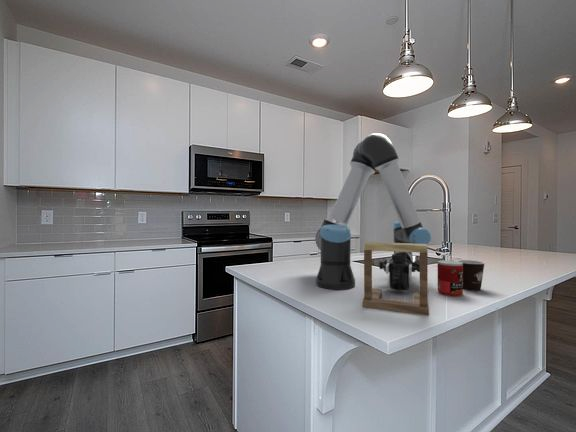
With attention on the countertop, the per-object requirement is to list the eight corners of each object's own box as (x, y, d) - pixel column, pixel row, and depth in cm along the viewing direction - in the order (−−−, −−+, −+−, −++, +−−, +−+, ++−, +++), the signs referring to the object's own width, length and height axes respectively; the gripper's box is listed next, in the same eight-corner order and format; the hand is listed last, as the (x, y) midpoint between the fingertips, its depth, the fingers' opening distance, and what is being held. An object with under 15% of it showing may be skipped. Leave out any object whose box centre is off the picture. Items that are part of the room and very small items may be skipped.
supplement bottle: (413, 289, 101) (413, 255, 101) (397, 291, 99) (397, 256, 99) (400, 285, 108) (400, 252, 108) (385, 286, 106) (384, 253, 106)
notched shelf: (370, 294, 101) (370, 239, 101) (427, 300, 94) (427, 241, 94) (362, 306, 88) (362, 244, 88) (428, 315, 80) (428, 246, 80)
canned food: (454, 297, 97) (454, 264, 96) (432, 292, 104) (432, 261, 104) (468, 294, 100) (468, 262, 100) (446, 289, 107) (446, 259, 107)
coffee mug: (476, 286, 111) (476, 260, 111) (489, 292, 103) (489, 264, 103) (444, 285, 113) (444, 259, 112) (455, 291, 104) (455, 263, 104)
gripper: (428, 271, 116) (430, 284, 95) (376, 267, 124) (368, 279, 103) (428, 252, 116) (430, 261, 95) (376, 250, 124) (368, 257, 103)
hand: (398, 270), depth 99 cm, fingers closed on supplement bottle, 7 cm apart
